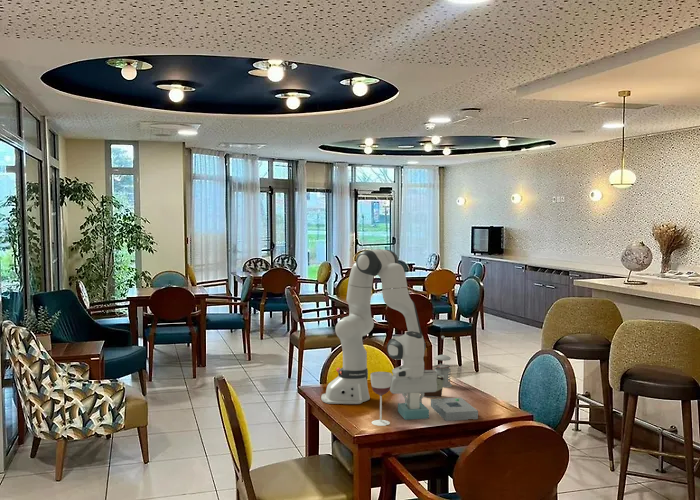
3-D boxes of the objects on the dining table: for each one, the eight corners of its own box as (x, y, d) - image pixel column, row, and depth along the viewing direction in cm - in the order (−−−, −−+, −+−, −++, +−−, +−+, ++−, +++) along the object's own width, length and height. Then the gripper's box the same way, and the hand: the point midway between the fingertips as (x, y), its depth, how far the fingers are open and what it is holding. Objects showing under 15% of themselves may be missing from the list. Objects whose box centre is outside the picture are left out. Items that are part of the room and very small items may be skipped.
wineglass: (367, 420, 255) (368, 372, 254) (388, 419, 257) (388, 371, 256) (373, 426, 248) (373, 376, 247) (393, 425, 250) (394, 375, 249)
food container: (443, 393, 296) (444, 373, 296) (444, 397, 290) (444, 376, 290) (418, 392, 297) (418, 372, 297) (418, 396, 291) (418, 375, 291)
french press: (452, 383, 316) (453, 334, 315) (451, 389, 305) (452, 338, 304) (433, 382, 318) (433, 333, 317) (431, 387, 307) (432, 337, 306)
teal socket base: (404, 419, 257) (405, 411, 256) (397, 411, 268) (397, 403, 268) (429, 418, 259) (429, 410, 258) (421, 410, 270) (421, 402, 270)
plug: (410, 416, 260) (410, 393, 260) (407, 413, 265) (407, 390, 265) (419, 416, 261) (419, 392, 261) (416, 412, 266) (416, 389, 266)
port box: (445, 420, 255) (445, 411, 255) (430, 406, 275) (430, 398, 275) (477, 419, 258) (478, 409, 258) (460, 405, 278) (460, 396, 277)
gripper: (434, 368, 267) (434, 399, 268) (388, 369, 264) (388, 401, 264) (439, 371, 261) (439, 403, 262) (392, 373, 257) (392, 406, 258)
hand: (413, 402), depth 263 cm, fingers closed on plug, 4 cm apart
